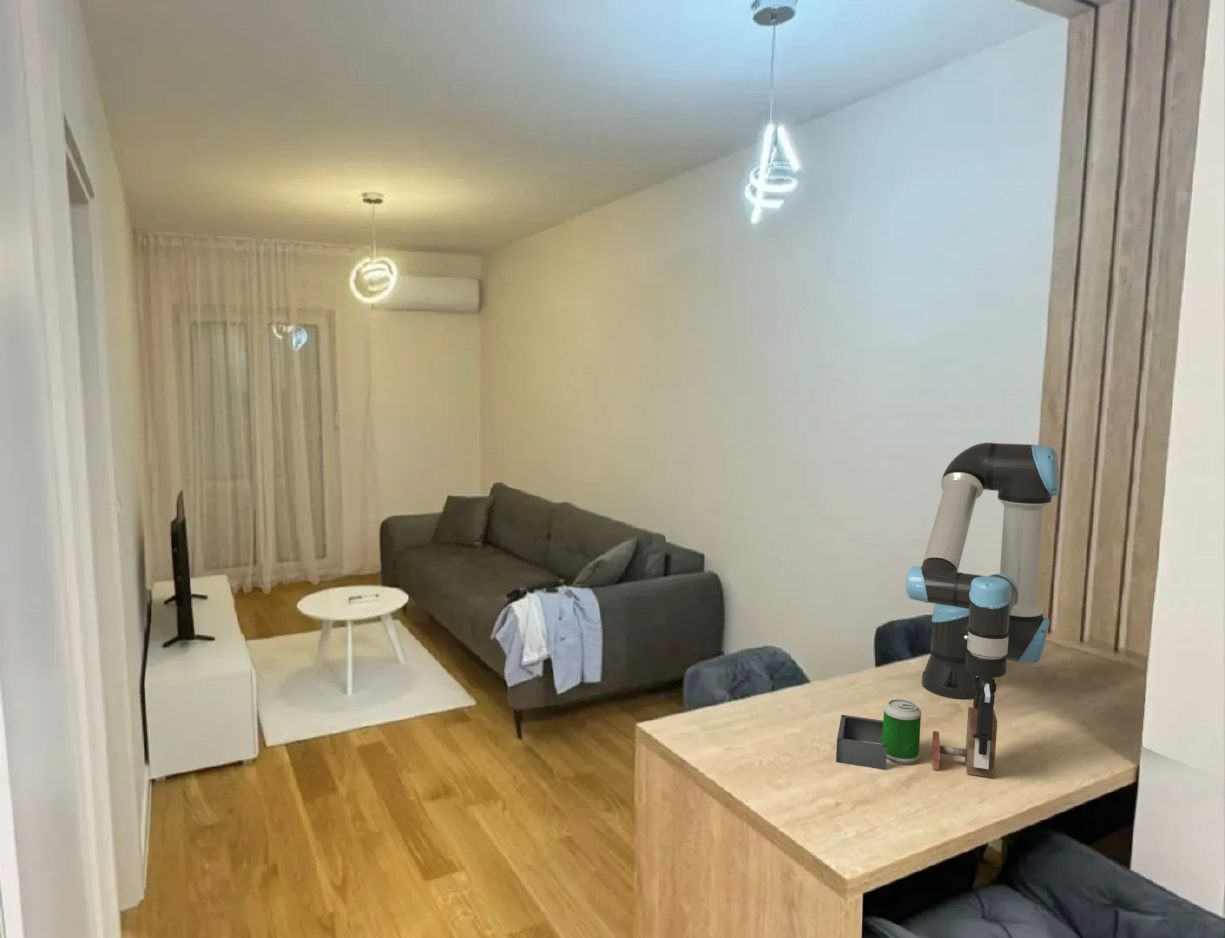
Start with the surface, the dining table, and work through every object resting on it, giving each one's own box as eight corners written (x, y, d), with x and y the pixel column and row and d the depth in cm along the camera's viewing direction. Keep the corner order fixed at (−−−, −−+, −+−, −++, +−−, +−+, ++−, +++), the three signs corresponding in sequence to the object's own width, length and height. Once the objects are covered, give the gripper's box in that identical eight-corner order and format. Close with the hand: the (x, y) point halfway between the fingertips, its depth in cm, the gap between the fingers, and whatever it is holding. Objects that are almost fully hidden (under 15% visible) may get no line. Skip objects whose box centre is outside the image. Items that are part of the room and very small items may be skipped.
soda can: (921, 768, 170) (924, 713, 168) (883, 764, 172) (886, 710, 170) (915, 751, 177) (918, 699, 176) (879, 748, 179) (882, 696, 177)
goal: (887, 742, 181) (888, 721, 181) (886, 770, 169) (887, 747, 169) (840, 735, 185) (841, 714, 184) (836, 762, 173) (836, 739, 172)
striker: (990, 763, 172) (994, 709, 170) (993, 779, 165) (997, 723, 163) (931, 754, 175) (934, 701, 174) (932, 769, 169) (935, 714, 167)
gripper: (963, 636, 176) (957, 737, 179) (970, 667, 158) (963, 778, 161) (1001, 640, 173) (994, 742, 176) (1012, 672, 156) (1004, 785, 159)
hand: (979, 759), depth 169 cm, fingers closed on striker, 6 cm apart
